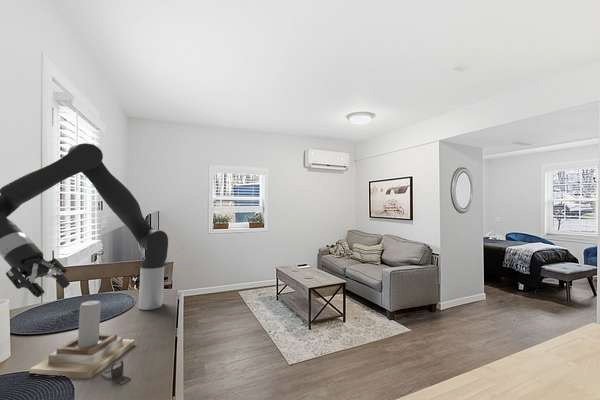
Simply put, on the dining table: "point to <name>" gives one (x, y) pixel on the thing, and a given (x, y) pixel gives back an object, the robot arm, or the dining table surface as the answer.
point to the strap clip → (116, 374)
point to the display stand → (83, 357)
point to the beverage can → (89, 324)
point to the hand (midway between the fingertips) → (54, 290)
